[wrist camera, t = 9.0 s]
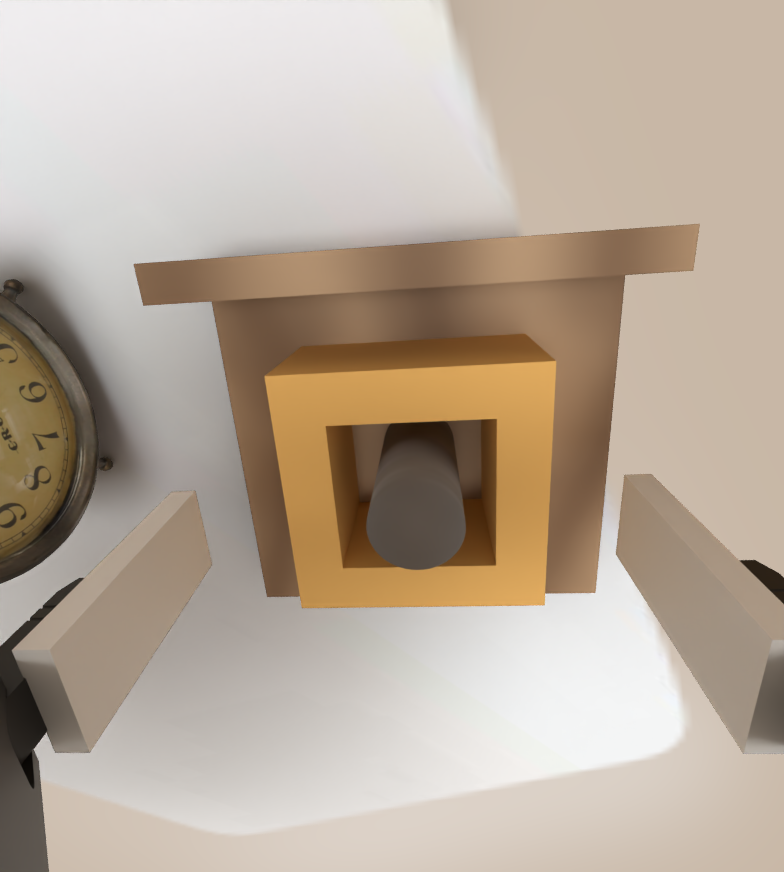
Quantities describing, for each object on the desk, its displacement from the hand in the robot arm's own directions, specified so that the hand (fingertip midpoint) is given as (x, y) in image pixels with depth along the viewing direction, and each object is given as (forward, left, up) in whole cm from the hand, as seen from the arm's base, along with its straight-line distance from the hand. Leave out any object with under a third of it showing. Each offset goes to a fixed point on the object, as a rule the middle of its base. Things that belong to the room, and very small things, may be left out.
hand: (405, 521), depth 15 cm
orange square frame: (0, 0, -7) cm, 7 cm away
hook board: (0, 0, -8) cm, 8 cm away
